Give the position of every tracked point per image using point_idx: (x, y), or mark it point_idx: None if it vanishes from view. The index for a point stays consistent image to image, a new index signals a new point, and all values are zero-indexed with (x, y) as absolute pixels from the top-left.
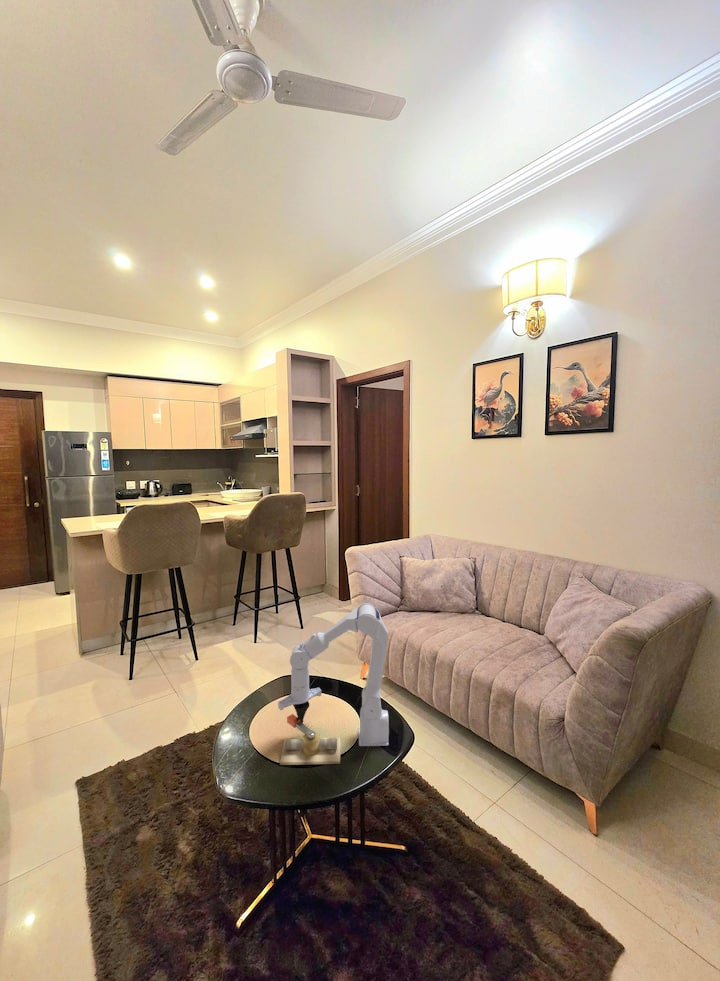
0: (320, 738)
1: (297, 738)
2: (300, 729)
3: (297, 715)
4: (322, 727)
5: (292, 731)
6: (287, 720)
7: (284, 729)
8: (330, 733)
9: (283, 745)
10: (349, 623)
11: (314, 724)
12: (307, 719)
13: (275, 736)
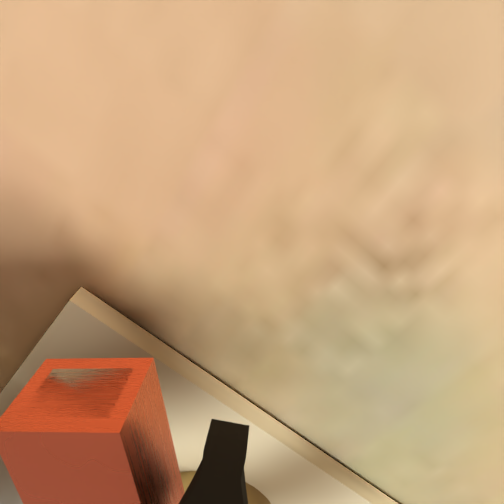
0: (346, 493)
1: (181, 375)
2: None
3: (188, 493)
4: (499, 372)
5: (221, 217)
6: (31, 389)
7: (161, 124)
8: (479, 462)
9: (27, 360)
10: None
11: (481, 289)
12: (499, 163)
13: (25, 157)
